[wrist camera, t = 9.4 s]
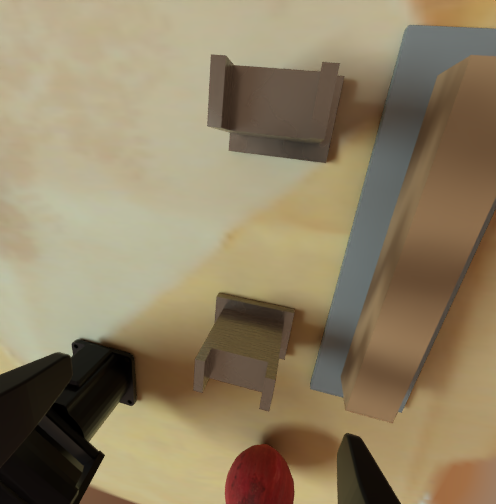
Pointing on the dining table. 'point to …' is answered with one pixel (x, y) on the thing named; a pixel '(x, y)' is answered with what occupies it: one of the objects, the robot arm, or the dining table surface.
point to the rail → (426, 238)
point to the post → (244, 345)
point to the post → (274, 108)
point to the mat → (392, 186)
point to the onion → (259, 478)
